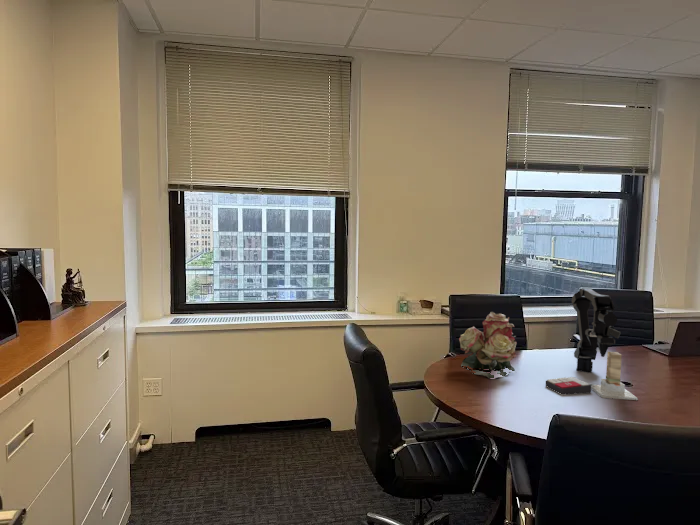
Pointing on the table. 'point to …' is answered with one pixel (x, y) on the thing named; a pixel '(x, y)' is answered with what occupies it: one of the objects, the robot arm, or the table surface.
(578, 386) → the calculator
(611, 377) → the column
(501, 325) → the rose bouquet
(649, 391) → the table surface
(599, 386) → the sleeve stand
